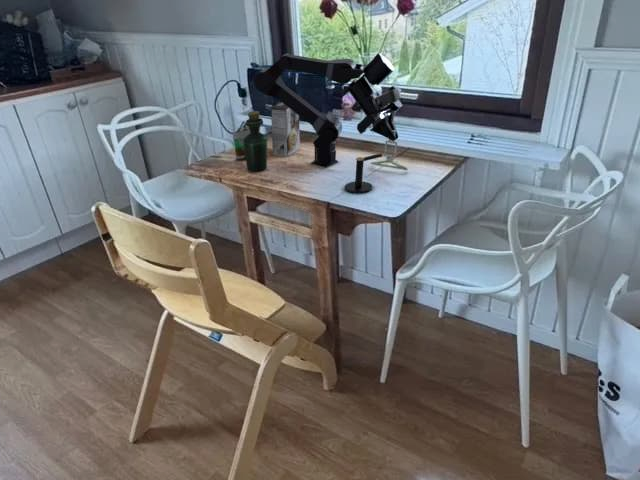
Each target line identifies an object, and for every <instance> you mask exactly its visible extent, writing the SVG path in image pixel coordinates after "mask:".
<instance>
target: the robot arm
mask: <svg viewBox="0 0 640 480" xmlns="http://www.w3.org/2000/svg"><path fill="white" fill-rule="evenodd" d="M286 71H292V72H296V73H297V72H299V73H304V74H309V75H315V76H322V77H324V78H326V79H328V80H330V81H332V82H335V83H336V84H340V85H342V86H343V87H342V88H343V89H342V94H341V95H342V97H345V96H346V97H347V96H348V95H349V94H350V95H351V97H352V98H353V100H354V101H355V102H356V104H357V105H358V107H357V110H358V111H359V112H360V111H362V112H363V113H364V115H365V117H363V119H362V120H361V121H360V122H358V123H357V125H356V130H357V131H358V133H359V134H360V135H362V134H364V133H365V132H366V131H367V129H368V128H370V127H371V128H370V130H369V131H370V132H374V133H376V134H378V135H380V136H382V137H385V138H386V139H388V140H389V139H390V140H392V141H394V142H396V140H398V139H399V134H398V130H397V128H396V124H395V120H394V119H395V115H396V114H397V111H399V109H401V107H403V103H402V102H401V101H400V100H401V99H402V97H401V93H402V89H401V88H400V87H399V86H398V85H397V84H394V85H392V86H390V87H388V91H386V92H385V93H381V92H380V91H375V90H374V87H372V86H375V85H376V86H380V85H381V84H382V83H383V82H384V81H385V80H386V79H387V78H388V77H389V76H390V75H392V73H394V71H395V68H394V66H393V64H392V62H391V61H390V60H389V59H388V58H387V57H385V56H384V55H383V54H381V52H377V54H376V55H375V56H374V57H373V58H372V60H371V61H369V62H368V63H367V64H361V63H356V62H355V60H353V59H351V58H338V59H331V60H330V59H329V60H327V59H320V58H316V57H315V58H314V57H308V56H304V55H302V56H301V55H295V54H292V53H290V52H289V53H285V54H283V55H282V56H280V57H279V59H278V60H277V61H276V62H274V64H272V65H271V66H270V67H265V68H264V69H262V70H260V71H259V72H258V73H256V74H255V76H254V80H253V84H254V88H255V89H256V91H258V92H260V93H261V94H264V95H265V96H268V97H271V98H275V99H277V101H280V102H282V103H284V104H285V105H286V106H288V107H289V108H290V109H291V110H293V111H294V112H295V113H297V114H298V115H299V118H302V119H303V120H304V121H306V122H307V123H308V124H309V125H311V127H312V128H313V130H314V132H315V133H316V135H317V136H316V138H315V139H314V140H313V142H312V143H313V146H314V160H313V161H311V162H310V164H311V165H313V166H318V167H321V168H328V167H330V166H332V165H335V164H337V163H338V162H339V161H338V160H337V159H336V158H337V150H336V144H335V143H334V142H335V141H336V140H338V138H339V136H340V135H341V133H342V131H343V124H342V122H341V121H340V117H338V116H336V115H334V113H333V112H331V110H328V111H327V113H323V112H321V111H319V110H318V109H316V108H315V107H314V106H313V105H311V104H310V103H309V102H308V101H306V100H305V99H304V98H303V97H301V96H300V95H299V94H297V93H296V92H295V91H293V90H292V89H291V88H289V87H288V86H287V85H286V84H285V82H284V80H283V78H282V77H281V75H283V73H284V72H286ZM346 84H348V85H346ZM392 130H396V133H395V134H394V133H393V131H392Z"/></svg>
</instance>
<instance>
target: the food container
mask: <svg viewBox="0 0 640 480" xmlns="http://www.w3.org/2000/svg"><path fill="white" fill-rule="evenodd" d="M245 124H246V122H243V125H242V126H241V127H239V128H238V129H237V131H236V132H235V131H232V140H233V143H234V150H235V151H234V152H235V161H237V162H241V161H246V157H245V151H244V144H243V140H244V137H246V136H247V135H248V134H250V129H249V127H248V126H246V125H245Z"/></svg>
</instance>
